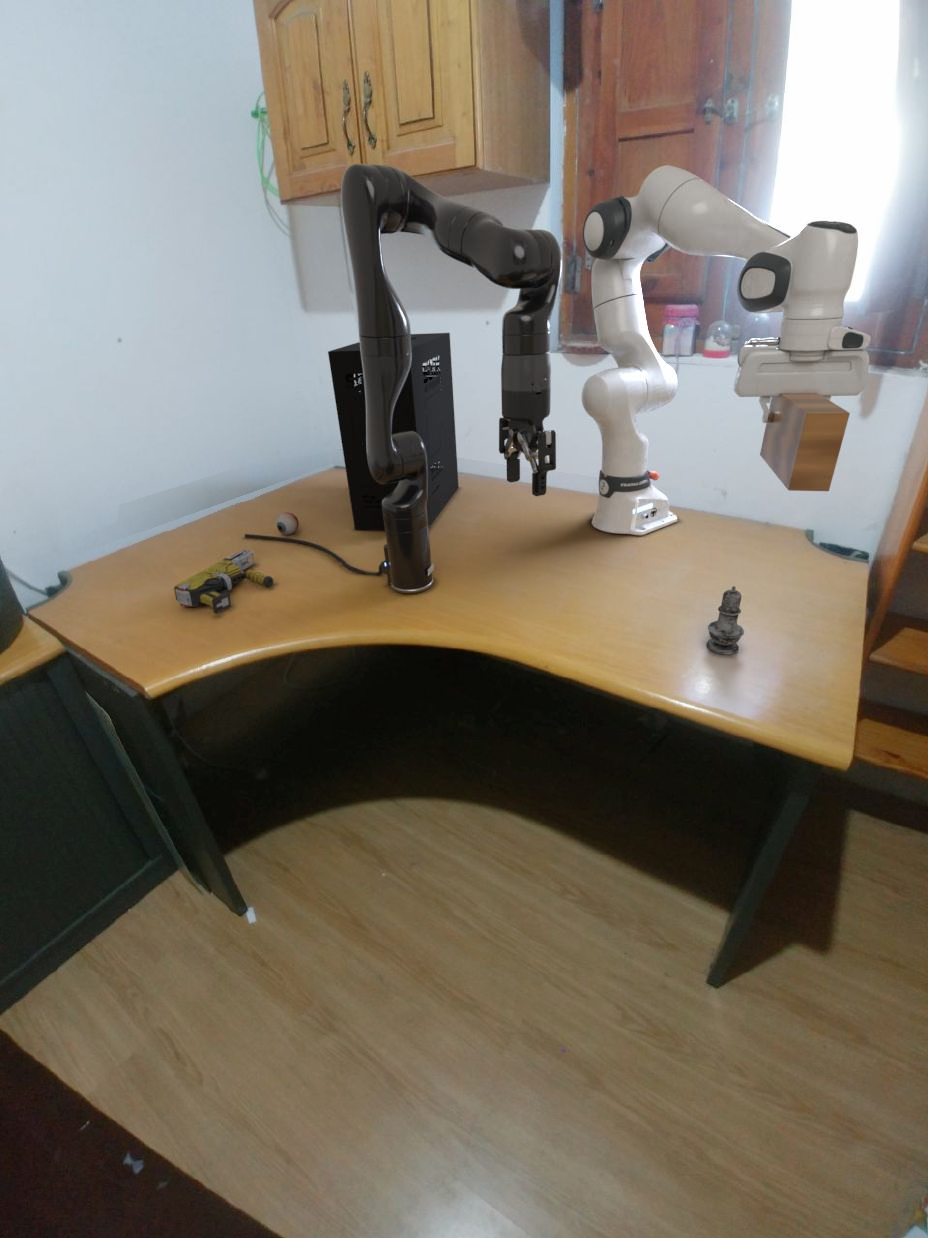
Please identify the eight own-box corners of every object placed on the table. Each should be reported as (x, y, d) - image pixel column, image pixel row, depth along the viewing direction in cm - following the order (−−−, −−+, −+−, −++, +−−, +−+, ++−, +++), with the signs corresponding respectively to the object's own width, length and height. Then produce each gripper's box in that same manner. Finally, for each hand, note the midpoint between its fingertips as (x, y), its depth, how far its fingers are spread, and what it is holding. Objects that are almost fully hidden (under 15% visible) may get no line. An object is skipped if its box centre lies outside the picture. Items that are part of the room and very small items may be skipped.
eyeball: (273, 537, 164) (268, 516, 161) (287, 528, 169) (282, 508, 166) (291, 539, 161) (286, 518, 158) (305, 530, 166) (301, 510, 163)
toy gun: (294, 557, 143) (240, 546, 147) (227, 600, 123) (168, 586, 127) (295, 575, 145) (243, 564, 149) (230, 620, 125) (172, 606, 129)
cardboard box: (425, 532, 161) (409, 348, 139) (354, 529, 166) (327, 351, 143) (458, 487, 193) (449, 332, 170) (398, 486, 197) (382, 335, 175)
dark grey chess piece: (743, 656, 104) (756, 594, 98) (707, 654, 105) (718, 593, 99) (737, 638, 109) (749, 578, 103) (702, 636, 110) (712, 577, 104)
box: (759, 454, 114) (773, 388, 108) (793, 455, 113) (809, 387, 107) (788, 490, 96) (806, 412, 90) (828, 491, 95) (850, 412, 89)
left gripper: (483, 381, 96) (486, 481, 104) (527, 394, 85) (527, 504, 93) (524, 376, 99) (524, 473, 107) (572, 387, 88) (568, 495, 96)
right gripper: (744, 340, 100) (730, 426, 107) (882, 336, 95) (858, 426, 102) (737, 336, 105) (724, 418, 112) (868, 332, 101) (846, 417, 108)
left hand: (525, 487), depth 100 cm, fingers open, 8 cm apart
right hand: (789, 422), depth 107 cm, fingers closed on box, 6 cm apart
